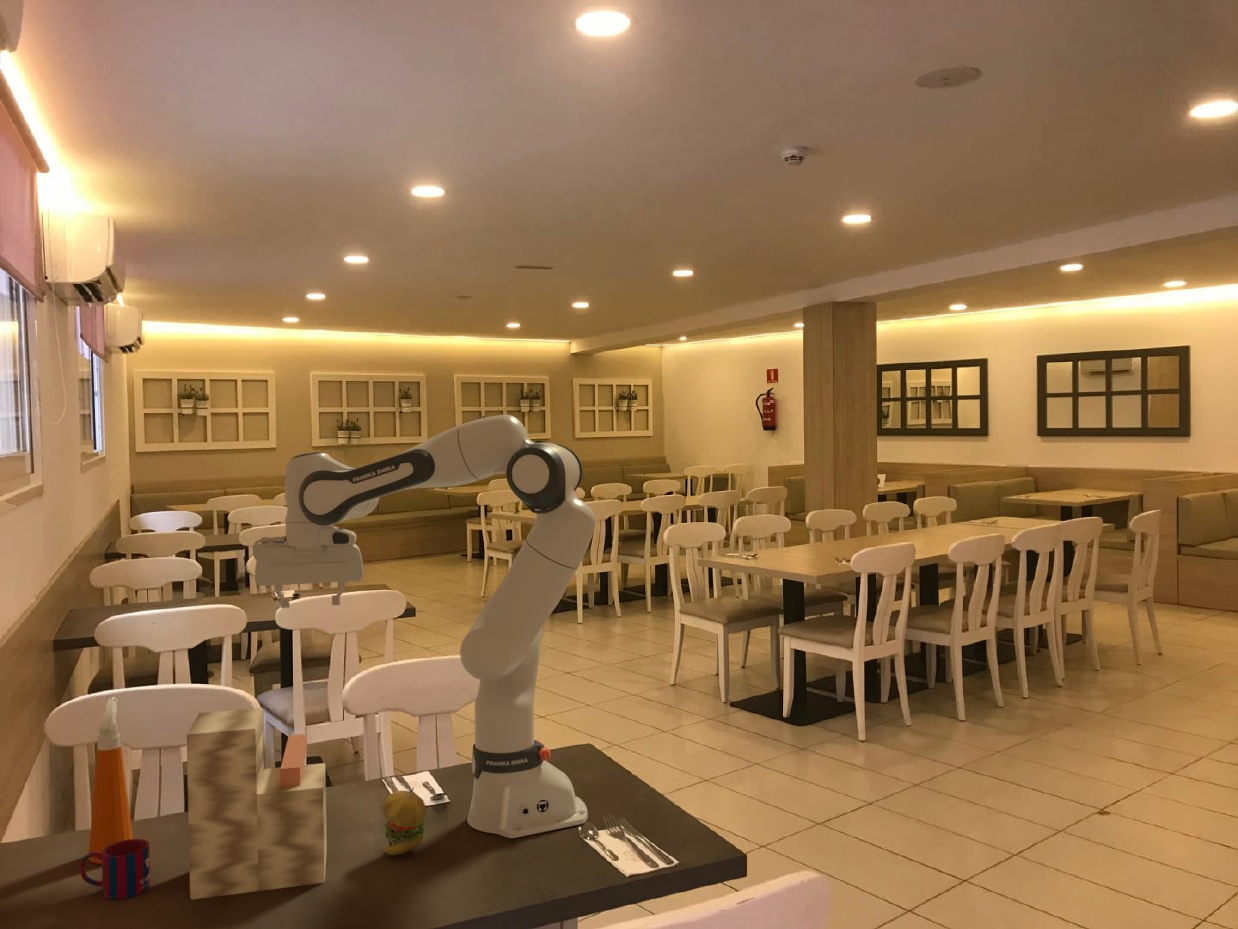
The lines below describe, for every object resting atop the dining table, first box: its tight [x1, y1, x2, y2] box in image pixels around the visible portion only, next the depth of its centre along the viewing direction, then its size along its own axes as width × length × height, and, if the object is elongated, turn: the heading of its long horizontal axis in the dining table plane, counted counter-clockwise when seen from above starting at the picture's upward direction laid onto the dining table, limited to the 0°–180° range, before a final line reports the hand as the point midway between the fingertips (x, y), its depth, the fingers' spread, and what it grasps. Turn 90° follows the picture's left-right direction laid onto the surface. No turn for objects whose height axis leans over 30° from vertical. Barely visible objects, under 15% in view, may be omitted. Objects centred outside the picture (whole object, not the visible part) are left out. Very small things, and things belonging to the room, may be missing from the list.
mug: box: [79, 838, 151, 900], centre depth 150 cm, size 7×10×7 cm
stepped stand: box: [186, 707, 328, 900], centre depth 155 cm, size 20×12×26 cm, turn 106°
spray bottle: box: [88, 696, 134, 865], centre depth 164 cm, size 7×11×26 cm, turn 21°
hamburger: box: [381, 786, 427, 856], centre depth 162 cm, size 8×7×12 cm
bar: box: [280, 733, 308, 787], centre depth 161 cm, size 3×18×3 cm, turn 15°
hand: (310, 606), depth 184 cm, fingers open, 8 cm apart
